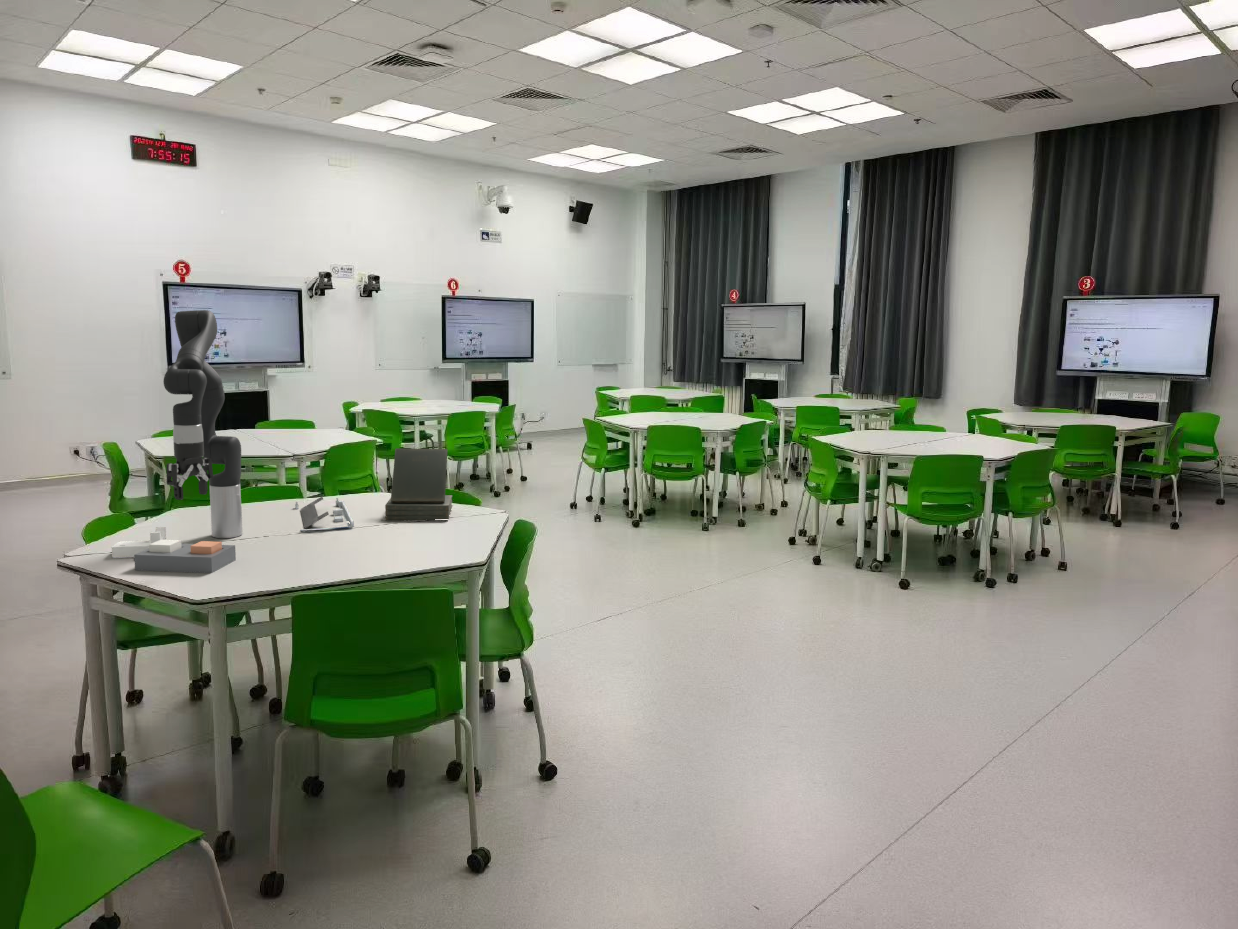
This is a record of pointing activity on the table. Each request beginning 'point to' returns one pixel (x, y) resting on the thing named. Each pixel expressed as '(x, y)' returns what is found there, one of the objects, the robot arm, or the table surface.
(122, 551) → the bracket
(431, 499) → the upright slab on base
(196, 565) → the key panel
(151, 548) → the off-white key
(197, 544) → the terracotta key
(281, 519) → the table surface
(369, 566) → the table surface
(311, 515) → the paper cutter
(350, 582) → the table surface
